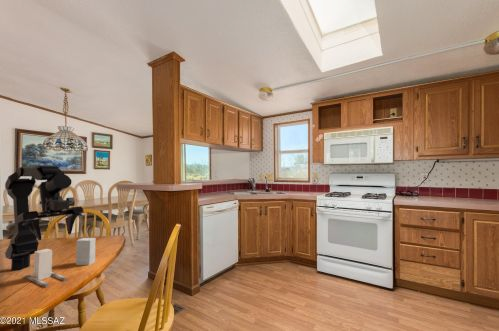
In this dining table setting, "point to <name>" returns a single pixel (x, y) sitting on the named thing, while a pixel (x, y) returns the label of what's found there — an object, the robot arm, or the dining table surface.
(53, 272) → the track
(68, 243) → the dining table surface
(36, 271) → the slider block
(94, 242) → the skincare box
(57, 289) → the dining table surface
